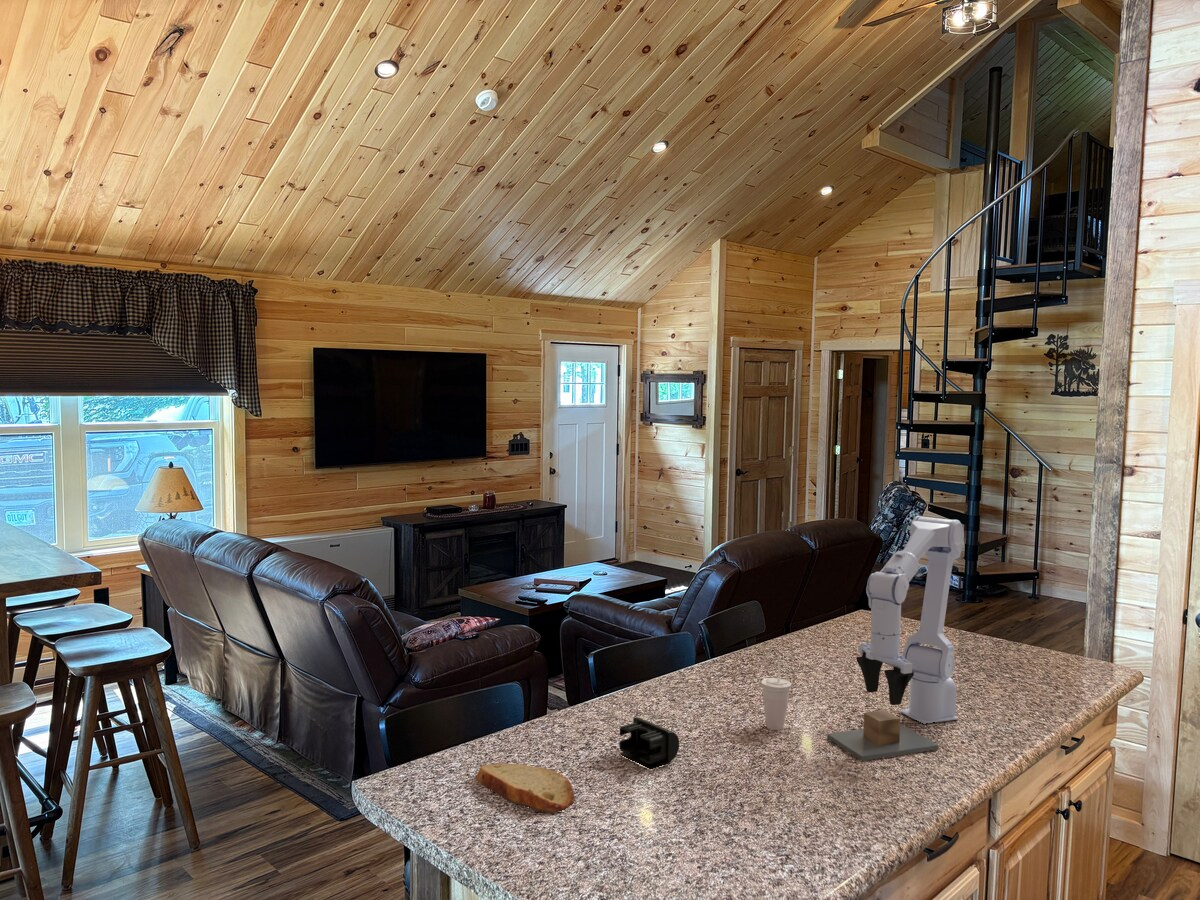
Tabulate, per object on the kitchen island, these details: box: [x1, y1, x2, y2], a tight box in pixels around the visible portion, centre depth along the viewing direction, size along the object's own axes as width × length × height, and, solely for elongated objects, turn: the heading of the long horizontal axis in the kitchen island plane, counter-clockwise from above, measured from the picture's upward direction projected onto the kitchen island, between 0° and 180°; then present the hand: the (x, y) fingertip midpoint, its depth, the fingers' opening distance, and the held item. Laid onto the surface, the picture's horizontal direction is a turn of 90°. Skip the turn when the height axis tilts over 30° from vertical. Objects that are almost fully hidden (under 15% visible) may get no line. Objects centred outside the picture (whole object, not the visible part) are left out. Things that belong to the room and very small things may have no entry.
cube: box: [863, 709, 901, 746], centre depth 183 cm, size 5×5×5 cm
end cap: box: [619, 716, 680, 769], centre depth 175 cm, size 10×7×7 cm
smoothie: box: [760, 661, 792, 731], centre depth 191 cm, size 6×6×14 cm
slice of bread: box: [475, 762, 576, 813], centre depth 160 cm, size 18×18×4 cm
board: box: [826, 723, 939, 762], centre depth 183 cm, size 18×12×1 cm, turn 109°
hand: (883, 697), depth 182 cm, fingers open, 7 cm apart
